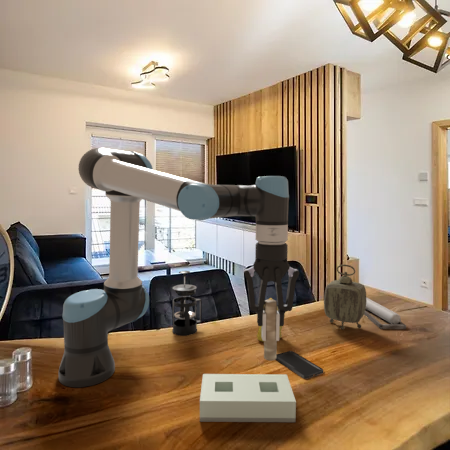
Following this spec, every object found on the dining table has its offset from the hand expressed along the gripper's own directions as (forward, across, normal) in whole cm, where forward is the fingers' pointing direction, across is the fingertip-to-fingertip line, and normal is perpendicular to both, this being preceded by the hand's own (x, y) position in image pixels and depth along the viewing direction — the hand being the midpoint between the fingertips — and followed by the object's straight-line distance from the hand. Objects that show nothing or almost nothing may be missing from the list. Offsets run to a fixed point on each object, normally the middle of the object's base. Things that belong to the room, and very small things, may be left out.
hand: (270, 338), depth 85 cm
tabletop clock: (+18, +35, +51) cm, 65 cm away
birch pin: (+5, 0, 0) cm, 5 cm away
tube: (+18, +55, +65) cm, 87 cm away
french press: (+17, -26, +47) cm, 56 cm away
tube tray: (+18, +54, +65) cm, 87 cm away
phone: (+18, +11, +21) cm, 30 cm away
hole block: (+17, -6, 0) cm, 18 cm away
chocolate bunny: (+18, +5, +41) cm, 45 cm away
